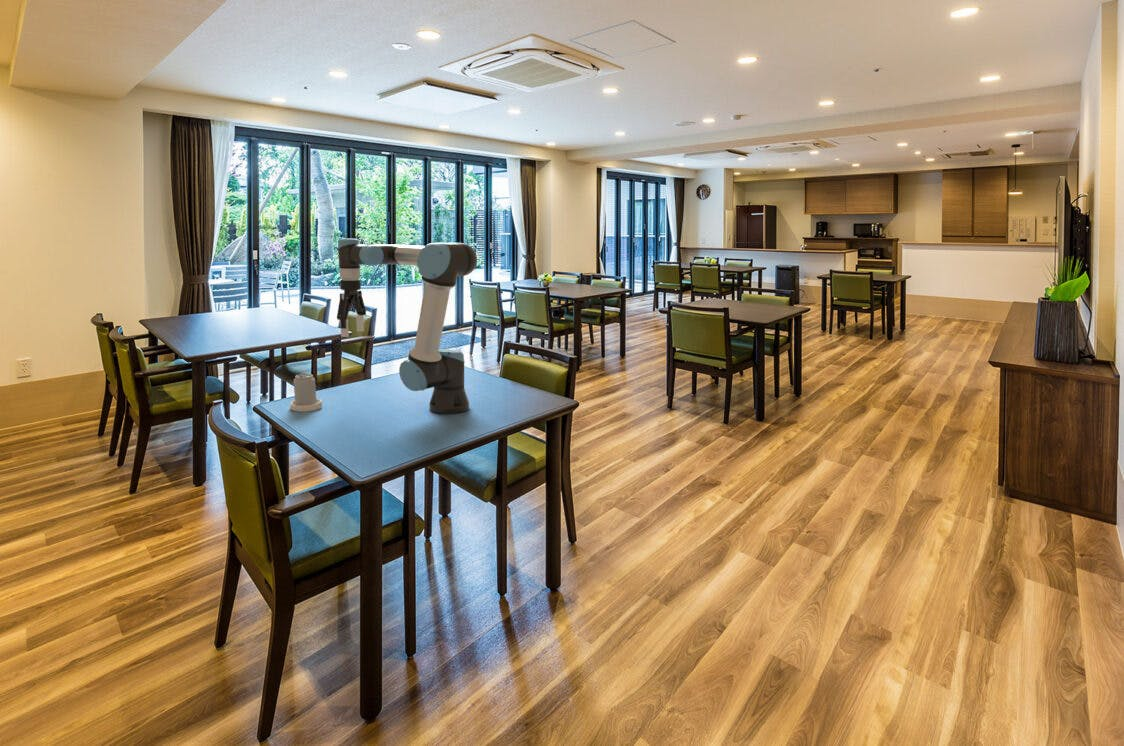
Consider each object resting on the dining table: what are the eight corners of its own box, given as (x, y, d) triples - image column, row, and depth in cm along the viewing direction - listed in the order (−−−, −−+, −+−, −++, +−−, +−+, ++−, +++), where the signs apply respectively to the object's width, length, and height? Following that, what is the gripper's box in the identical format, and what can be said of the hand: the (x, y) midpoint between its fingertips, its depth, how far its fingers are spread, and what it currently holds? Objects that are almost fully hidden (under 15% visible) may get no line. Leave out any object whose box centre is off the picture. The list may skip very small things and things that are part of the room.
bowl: (327, 404, 239) (327, 398, 239) (312, 412, 229) (312, 406, 228) (300, 403, 241) (300, 397, 240) (285, 410, 230) (284, 404, 229)
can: (296, 403, 236) (293, 373, 234) (316, 402, 239) (315, 372, 236) (294, 409, 230) (292, 378, 227) (316, 407, 232) (314, 376, 229)
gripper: (355, 276, 249) (357, 328, 254) (325, 281, 225) (328, 338, 230) (373, 277, 249) (375, 329, 253) (344, 282, 224) (347, 339, 229)
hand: (353, 334), depth 242 cm, fingers open, 13 cm apart
